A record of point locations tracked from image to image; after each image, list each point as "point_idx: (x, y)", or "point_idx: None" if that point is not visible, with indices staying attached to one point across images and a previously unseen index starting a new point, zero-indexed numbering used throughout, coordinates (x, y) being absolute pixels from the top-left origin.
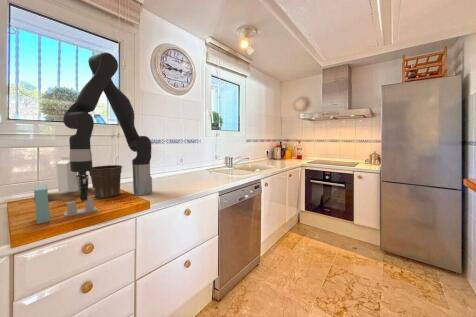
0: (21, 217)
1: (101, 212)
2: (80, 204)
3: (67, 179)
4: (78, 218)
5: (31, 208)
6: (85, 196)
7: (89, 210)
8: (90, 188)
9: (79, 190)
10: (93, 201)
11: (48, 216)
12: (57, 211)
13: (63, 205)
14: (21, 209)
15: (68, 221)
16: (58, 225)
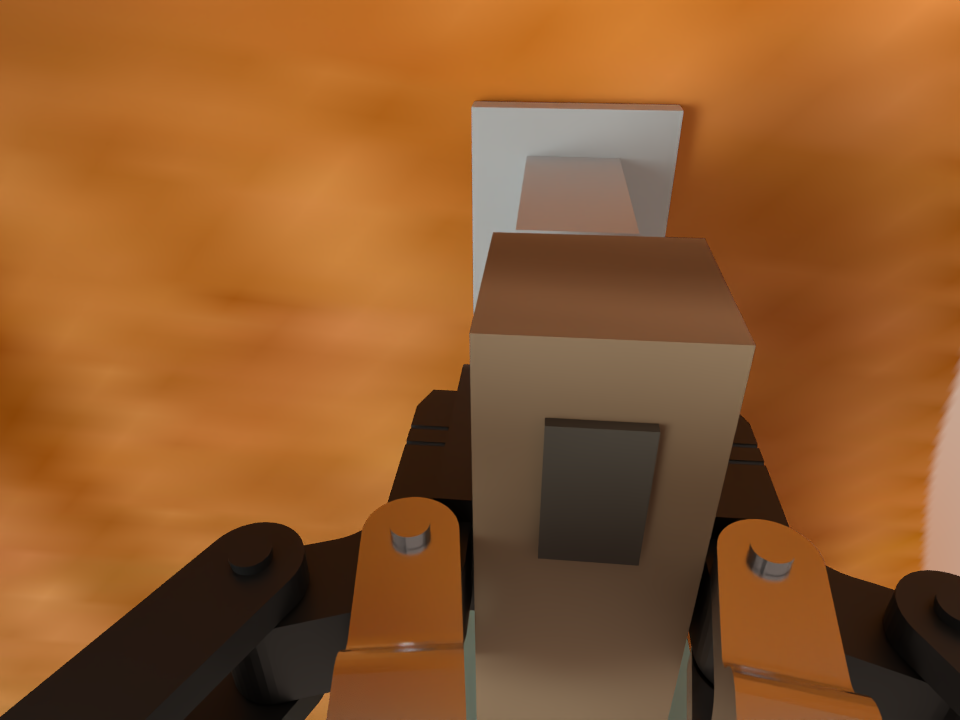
0: (318, 705)
1: (876, 59)
2: (48, 266)
3: None
4: (858, 391)
5: (11, 643)
6: (755, 471)
7: (646, 236)
8: (601, 460)
9: (614, 672)
10: (634, 215)
11: (688, 656)
12: (291, 512)
13: (9, 438)
14: (15, 687)
15: (870, 484)
16: (920, 562)
